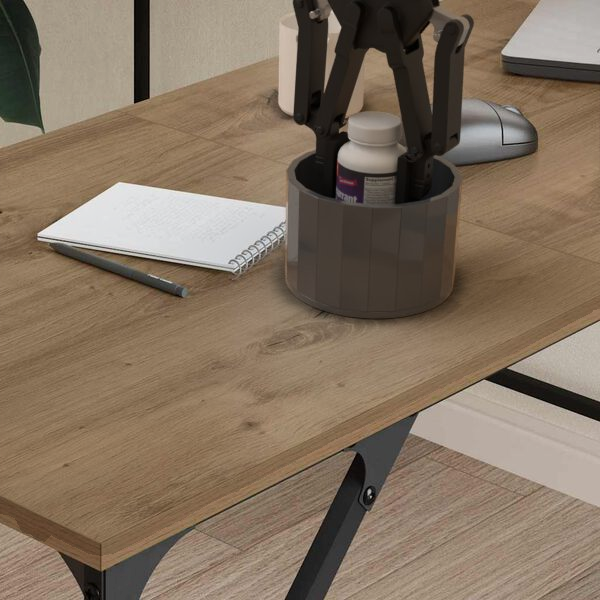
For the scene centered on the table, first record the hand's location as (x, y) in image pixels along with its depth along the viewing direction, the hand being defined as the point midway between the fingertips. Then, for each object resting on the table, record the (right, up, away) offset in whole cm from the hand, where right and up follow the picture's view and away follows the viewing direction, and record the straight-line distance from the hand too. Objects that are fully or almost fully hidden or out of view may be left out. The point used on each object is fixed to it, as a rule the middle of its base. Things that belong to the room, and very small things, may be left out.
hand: (369, 224), depth 103 cm
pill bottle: (0, -1, +1) cm, 2 cm away
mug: (-4, +14, +39) cm, 41 cm away
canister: (0, -4, +2) cm, 5 cm away
